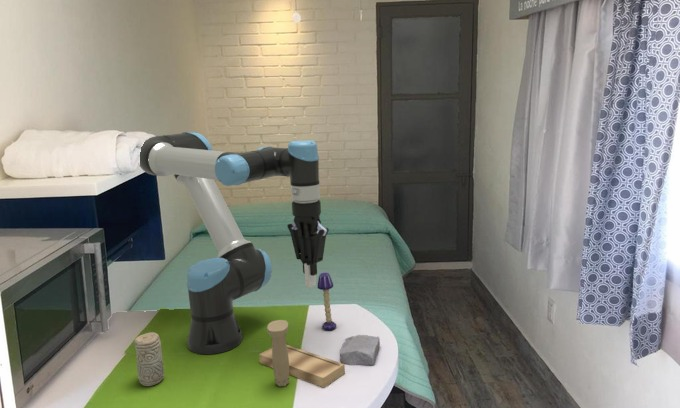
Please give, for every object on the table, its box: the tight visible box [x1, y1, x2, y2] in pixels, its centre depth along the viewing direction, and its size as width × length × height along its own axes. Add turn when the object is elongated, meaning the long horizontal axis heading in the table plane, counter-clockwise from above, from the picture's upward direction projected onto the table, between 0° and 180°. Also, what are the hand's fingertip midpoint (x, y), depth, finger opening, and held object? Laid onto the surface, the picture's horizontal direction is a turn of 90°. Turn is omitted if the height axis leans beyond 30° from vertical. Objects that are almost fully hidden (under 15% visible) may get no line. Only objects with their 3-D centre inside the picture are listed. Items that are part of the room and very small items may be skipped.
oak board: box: [258, 344, 346, 388], centre depth 142 cm, size 22×8×3 cm, turn 51°
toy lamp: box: [316, 272, 337, 332], centre depth 163 cm, size 5×5×17 cm
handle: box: [266, 319, 290, 387], centre depth 133 cm, size 5×6×15 cm
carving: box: [134, 331, 165, 387], centre depth 138 cm, size 6×8×12 cm
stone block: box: [339, 334, 381, 366], centre depth 147 cm, size 12×5×10 cm
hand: (310, 285), depth 151 cm, fingers closed
